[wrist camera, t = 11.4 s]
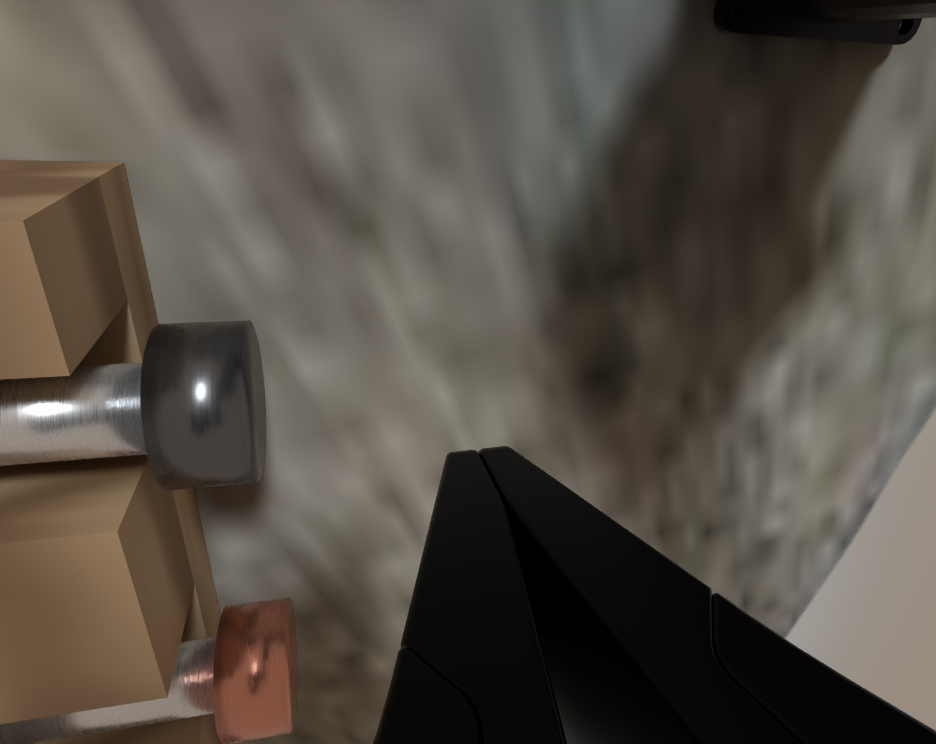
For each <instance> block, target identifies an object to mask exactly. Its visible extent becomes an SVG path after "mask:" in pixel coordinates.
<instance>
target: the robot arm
mask: <svg viewBox="0 0 936 744" xmlns="http://www.w3.org/2000/svg"><path fill="white" fill-rule="evenodd" d="M735 3H737V5H738V7H739V13H738V16H737V18H736V19H735V20H734V21H732V19H731V9H732V7H733V5H734V4H735ZM934 17H936V0H717V1H716V6H715V10H714V22H715V25H716V27H717V28H718V29H719V31H721V32H724V33H729V34H744V35H758V36H772V37H786V38H801V39H815V40H829V41H843V42H858V43H872V44H886V45H899V44H904V43H906V42H908V41H909V40H911V38H912V37H913V36H914V35H915V34H916V32H917V30H918V28H919V26H920V23H921V20H922V18H934ZM901 19H902V24H901V27H900V29H899V31H898V30H897V28H898V24H899V22H900V20H901ZM373 744H936V731H935V730H933V729H932V728H930V727H928V726H926V725H925V724H923V723H921V722H920V721H918V720H917V719H915V718H913V717H911V716H910V715H908V714H906V713H905V712H903V711H901V710H900V709H898V708H896V707H895V706H893V705H891V704H890V703H888V702H886V701H885V700H883V699H881V698H880V697H878V696H876V695H874V694H873V693H871V692H870V691H868V690H866V689H865V688H863V687H861V686H860V685H858V684H856V683H854V682H853V681H851V680H850V679H848V678H846V677H845V676H843V675H841V674H840V673H838V672H837V671H835V670H833V669H832V668H830V667H829V666H827V665H825V664H824V663H822V662H820V661H819V660H817V659H816V658H814V657H812V656H811V655H809V654H808V653H806V652H804V651H802V650H801V649H799V648H798V647H796V646H795V645H793V644H792V643H790V642H789V641H787V640H786V639H784V638H783V637H781V636H780V635H778V634H777V633H775V632H774V631H772V630H771V629H769V628H768V627H766V626H765V625H763V624H762V623H760V622H759V621H757V620H756V619H754V618H753V617H751V616H750V615H748V614H747V613H746V612H744V611H743V610H741V609H740V608H738V607H737V606H736V605H734V604H733V603H731V602H730V601H728V600H727V599H726V598H724V597H723V596H721V595H720V594H718V593H715V594H713V596H712V590H711V588H710V587H708V586H707V585H705V584H704V583H702V582H701V581H700V580H698V579H697V578H695V577H694V576H692V575H691V574H690V573H688V572H687V571H685V570H684V569H682V568H681V567H680V566H678V565H677V564H675V563H674V562H672V561H671V560H670V559H668V558H667V557H665V556H664V555H662V554H661V553H660V552H658V551H657V550H655V549H654V548H653V547H651V546H650V545H648V544H647V543H645V542H644V541H643V540H641V539H640V538H638V537H637V536H635V535H634V534H633V533H631V532H630V531H628V530H627V529H625V528H624V527H623V526H621V525H620V524H618V523H617V522H615V521H614V520H613V519H611V518H610V517H608V516H607V515H605V514H604V513H603V512H601V511H600V510H598V509H597V508H596V507H594V506H593V505H591V504H590V503H588V502H587V501H586V500H584V499H583V498H581V497H580V496H578V495H577V494H576V493H574V492H573V491H571V490H570V489H568V488H567V487H566V486H564V485H563V484H561V483H560V482H558V481H557V480H556V479H554V478H553V477H551V476H550V475H548V474H547V473H546V472H544V471H543V470H541V469H540V468H539V467H537V466H536V465H534V464H533V463H531V462H530V461H529V460H527V459H526V458H524V457H523V456H521V455H520V454H519V453H517V452H516V451H514V450H513V449H511V448H510V447H507V446H501V447H493V448H484V449H481V450H480V451H479V452H477V451H475V450H466V451H458V452H450V453H449V454H447V456H446V459H445V464H444V468H443V472H442V476H441V480H440V484H439V488H438V492H437V497H436V501H435V505H434V509H433V513H432V517H431V521H430V526H429V530H428V534H427V538H426V542H425V546H424V550H423V555H422V559H421V563H420V567H419V571H418V575H417V579H416V583H415V588H414V592H413V596H412V600H411V604H410V608H409V612H408V616H407V621H406V625H405V629H404V633H403V637H402V641H401V649H400V650H399V652H398V656H397V660H396V664H395V668H394V672H393V676H392V680H391V684H390V688H389V691H388V695H387V698H386V702H385V705H384V709H383V712H382V716H381V720H380V723H379V727H378V730H377V733H376V736H375V739H374V742H373Z"/></svg>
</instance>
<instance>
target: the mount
mask: <svg viewBox="0 0 936 744" xmlns="http://www.w3.org/2000/svg"><path fill="white" fill-rule="evenodd" d="M157 325H158V320H157V316H156V311H155V306H154V302H153V297H152V292H151V288H150V283H149V278H148V274H147V269H146V264H145V260H144V255H143V250H142V245H141V241H140V236H139V231H138V227H137V222H136V217H135V213H134V208H133V203H132V199H131V194H130V189H129V185H128V180H127V175H126V171H125V166H124V162H82V161H16V160H0V380H1V379H19V378H38V377H57V376H70V375H71V374H72V372H73V371H74V370H75V368H76V367H77V366H83V365H103V364H123V363H142V361H143V356H144V351H145V347H146V343H147V340H148V337H149V335H150V333H151V331H152V330H153V328H154V327H155V326H157ZM220 617H221V615H220V611H219V606H218V601H217V596H216V592H215V587H214V582H213V578H212V573H211V568H210V564H209V559H208V554H207V550H206V545H205V540H204V536H203V531H202V526H201V522H200V517H199V512H198V508H197V503H196V498H195V494H194V489H193V488H192V489H181V490H171V491H168V490H165V489H163V488H162V487H161V486H160V485H159V483H158V482H157V480H156V478H155V476H154V474H153V472H152V469H151V466H150V463H149V460H148V456H147V454H143V455H130V456H118V457H105V458H93V459H80V460H67V461H55V462H42V463H30V464H17V465H5V466H0V724H5V723H12V722H18V721H24V720H30V719H37V718H43V717H49V716H56V715H62V714H68V713H74V712H81V711H87V710H93V709H99V708H106V707H112V706H118V705H125V704H131V703H137V702H143V701H150V700H156V699H162V698H168V694H169V689H170V685H171V681H172V677H173V672H174V668H175V664H176V660H177V655H178V651H179V647H180V643H181V642H185V641H192V640H199V639H206V638H213V637H217V631H218V626H219V621H220ZM34 744H220V740H219V738H218V734H217V730H216V724H215V715H214V713H213V714H208V715H202V716H196V717H190V718H184V719H178V720H172V721H166V722H160V723H154V724H148V725H142V726H136V727H130V728H124V729H118V730H112V731H106V732H100V733H94V734H88V735H82V736H76V737H70V738H64V739H58V740H52V741H46V742H40V743H34Z"/></svg>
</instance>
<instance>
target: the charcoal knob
mask: <svg viewBox="0 0 936 744" xmlns="http://www.w3.org/2000/svg"><path fill="white" fill-rule="evenodd" d="M265 449H266V408H265V391H264V379H263V370H262V362H261V355H260V349H259V344H258V339H257V335H256V331H255V328H254V326H253V324H252V322H251V321H224V322H198V323H171V324H158V325H157V326H155V327H154V328H153V330H152V331H151V333H150V335H149V337H148V340H147V343H146V347H145V351H144V356H143V361H142V363H123V364H103V365H83V366H77V367H76V368H75V370H74V371H73V372H72V374H71V375H70V376H57V377H38V378H19V379H1V380H0V466H5V465H17V464H30V463H42V462H55V461H67V460H80V459H93V458H105V457H118V456H130V455H143V454H147V456H148V460H149V463H150V466H151V469H152V472H153V474H154V476H155V478H156V480H157V482H158V483H159V485H160V486H161V487H162V488H163V489H165V490H168V491H171V490H181V489H192V488H203V487H214V486H225V485H236V484H247V483H258V482H260V480H261V478H262V474H263V469H264V462H265Z"/></svg>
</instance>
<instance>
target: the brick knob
mask: <svg viewBox="0 0 936 744" xmlns="http://www.w3.org/2000/svg"><path fill="white" fill-rule="evenodd" d="M296 706H297V647H296V629H295V618H294V610H293V604H292V600H291V598H286V599H278V600H271V601H263V602H256V603H248V604H241V605H233V606H226V607H225V608H224V610H223V612H222V614H221V617H220V621H219V626H218V631H217V637H213V638H206V639H199V640H192V641H185V642H181V643H180V647H179V651H178V655H177V660H176V664H175V668H174V672H173V677H172V681H171V685H170V689H169V694H168V698H162V699H156V700H150V701H143V702H137V703H131V704H125V705H118V706H112V707H106V708H99V709H93V710H87V711H81V712H74V713H68V714H62V715H56V716H49V717H43V718H37V719H30V720H24V721H18V722H12V723H5V724H0V744H34V743H40V742H46V741H52V740H58V739H64V738H70V737H76V736H82V735H88V734H94V733H100V732H106V731H112V730H118V729H124V728H130V727H136V726H142V725H148V724H154V723H160V722H166V721H172V720H178V719H184V718H190V717H196V716H202V715H208V714H213V713H214V715H215V724H216V730H217V734H218V738H219V740H220V743H221V744H233V743H239V742H244V741H250V740H256V739H261V738H267V737H272V736H278V735H284V734H289V733H293V731H294V727H295V720H296Z"/></svg>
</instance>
